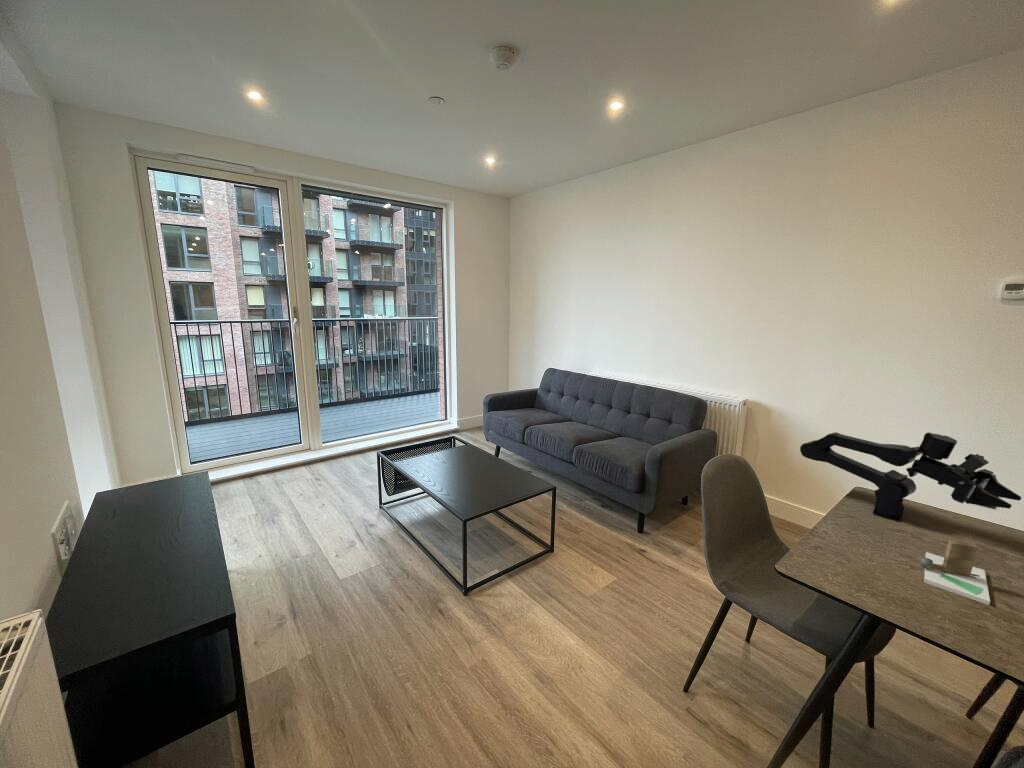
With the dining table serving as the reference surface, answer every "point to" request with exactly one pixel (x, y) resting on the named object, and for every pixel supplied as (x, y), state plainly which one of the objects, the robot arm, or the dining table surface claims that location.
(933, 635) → the dining table surface
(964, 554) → the brown slab with knob
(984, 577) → the green-marked white board
